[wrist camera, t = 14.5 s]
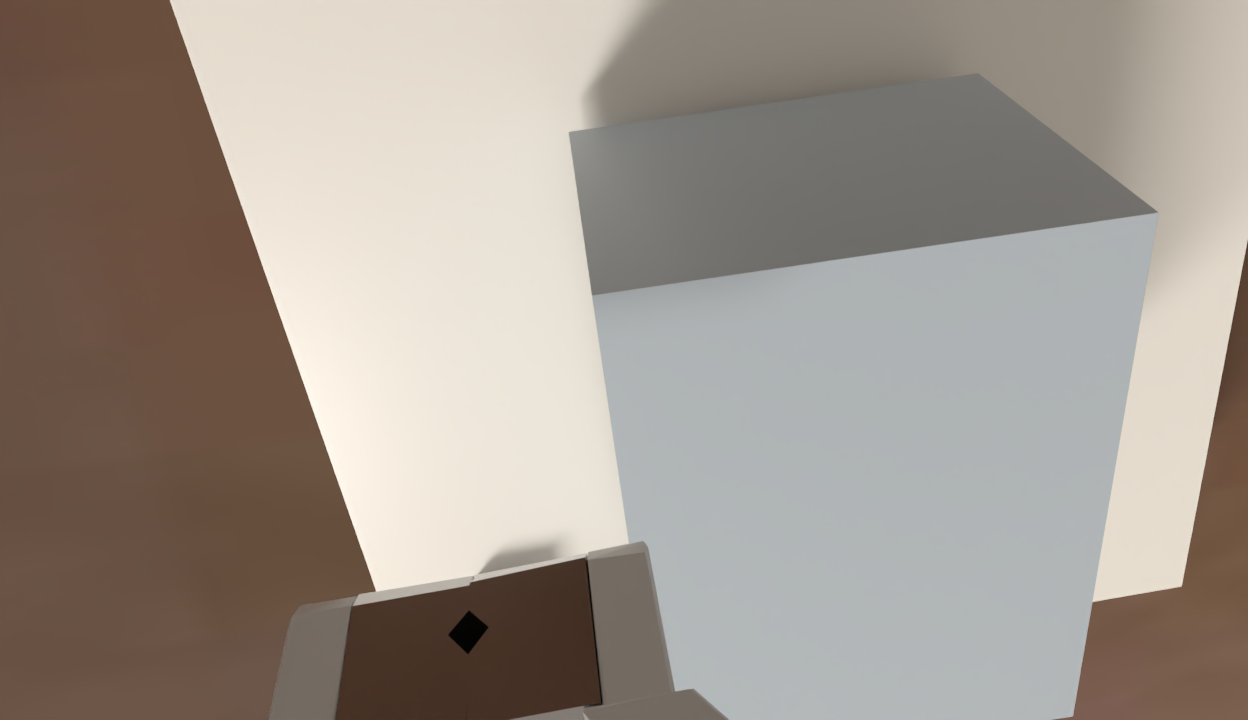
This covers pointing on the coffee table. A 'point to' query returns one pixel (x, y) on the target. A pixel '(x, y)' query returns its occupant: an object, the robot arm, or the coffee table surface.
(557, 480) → the socket plate
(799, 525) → the plug
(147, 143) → the coffee table surface
